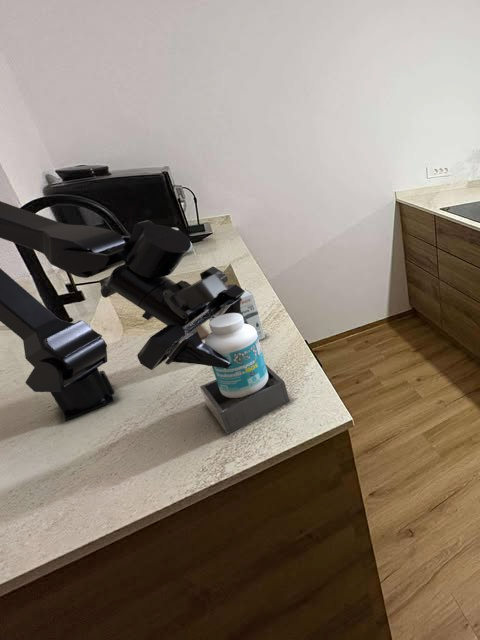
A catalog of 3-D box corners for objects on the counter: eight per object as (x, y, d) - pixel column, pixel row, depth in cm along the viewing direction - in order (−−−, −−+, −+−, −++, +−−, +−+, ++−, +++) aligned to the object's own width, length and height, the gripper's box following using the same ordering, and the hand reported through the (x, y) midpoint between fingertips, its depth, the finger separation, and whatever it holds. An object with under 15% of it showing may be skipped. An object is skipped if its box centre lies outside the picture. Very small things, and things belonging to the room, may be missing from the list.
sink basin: (227, 434, 61) (219, 413, 60) (207, 406, 68) (199, 386, 66) (289, 401, 68) (284, 381, 67) (266, 378, 75) (260, 359, 73)
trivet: (169, 351, 84) (168, 349, 83) (160, 339, 88) (159, 336, 88) (210, 336, 89) (209, 334, 89) (199, 325, 94) (198, 323, 94)
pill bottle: (219, 405, 62) (193, 336, 56) (223, 380, 68) (201, 314, 62) (269, 391, 65) (250, 324, 60) (269, 368, 71) (252, 305, 66)
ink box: (226, 355, 82) (210, 307, 77) (217, 347, 85) (200, 300, 80) (266, 337, 88) (254, 292, 84) (257, 331, 91) (244, 287, 86)
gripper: (126, 285, 48) (234, 357, 53) (219, 241, 65) (295, 297, 70) (92, 337, 52) (196, 400, 56) (189, 282, 69) (263, 333, 73)
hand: (243, 352), depth 64 cm, fingers closed on pill bottle, 7 cm apart
